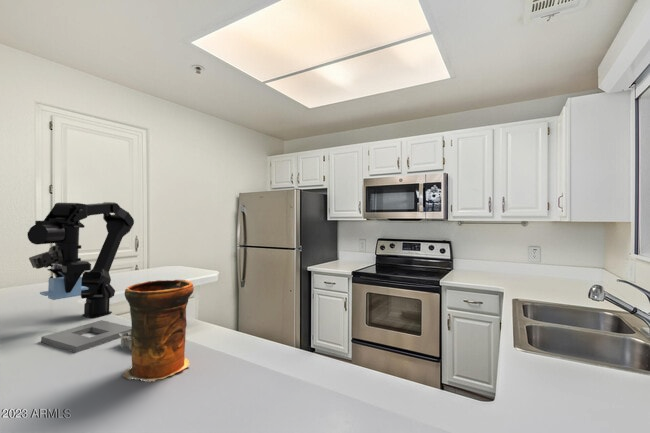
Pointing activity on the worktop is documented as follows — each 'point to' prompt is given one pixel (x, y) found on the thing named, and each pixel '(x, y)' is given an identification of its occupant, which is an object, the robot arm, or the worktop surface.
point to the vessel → (158, 328)
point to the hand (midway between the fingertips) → (65, 291)
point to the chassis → (77, 342)
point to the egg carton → (126, 339)
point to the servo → (62, 289)
